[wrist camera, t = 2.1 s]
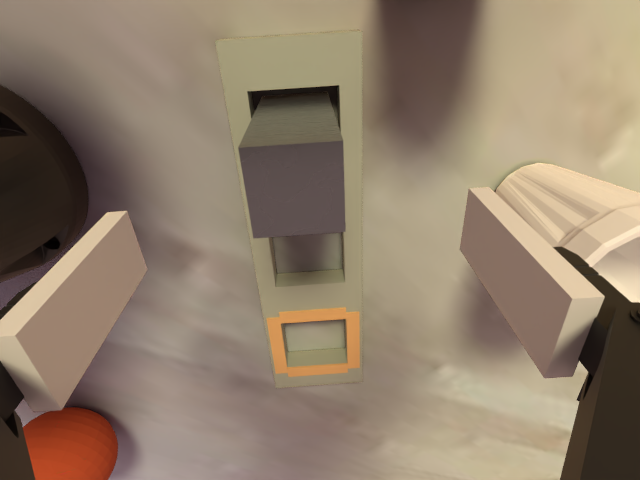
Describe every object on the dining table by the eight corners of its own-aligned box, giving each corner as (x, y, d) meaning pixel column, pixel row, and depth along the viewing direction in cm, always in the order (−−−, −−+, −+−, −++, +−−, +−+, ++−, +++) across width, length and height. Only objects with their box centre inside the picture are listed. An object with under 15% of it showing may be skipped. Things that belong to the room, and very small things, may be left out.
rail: (276, 372, 42) (275, 389, 40) (221, 39, 25) (214, 41, 23) (359, 366, 42) (362, 383, 40) (358, 29, 25) (362, 31, 23)
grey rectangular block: (270, 159, 30) (253, 238, 19) (262, 96, 27) (238, 147, 17) (330, 155, 30) (345, 231, 19) (327, 91, 27) (343, 140, 17)
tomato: (56, 445, 47) (0, 543, 38) (20, 389, 41) (-54, 488, 33) (141, 440, 47) (105, 537, 38) (117, 384, 42) (68, 481, 33)
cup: (582, 114, 29) (762, 181, 18) (594, 221, 34) (742, 327, 22) (452, 171, 31) (540, 264, 19) (481, 264, 35) (565, 381, 24)
